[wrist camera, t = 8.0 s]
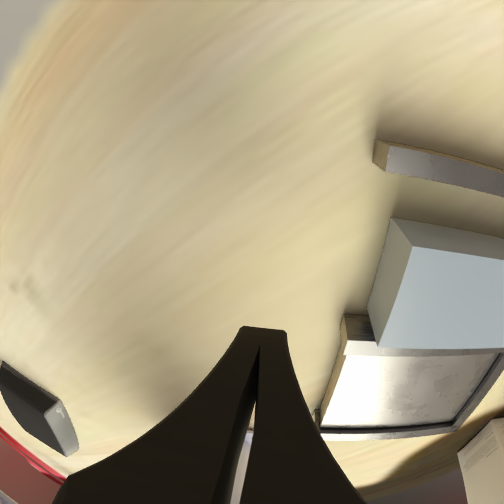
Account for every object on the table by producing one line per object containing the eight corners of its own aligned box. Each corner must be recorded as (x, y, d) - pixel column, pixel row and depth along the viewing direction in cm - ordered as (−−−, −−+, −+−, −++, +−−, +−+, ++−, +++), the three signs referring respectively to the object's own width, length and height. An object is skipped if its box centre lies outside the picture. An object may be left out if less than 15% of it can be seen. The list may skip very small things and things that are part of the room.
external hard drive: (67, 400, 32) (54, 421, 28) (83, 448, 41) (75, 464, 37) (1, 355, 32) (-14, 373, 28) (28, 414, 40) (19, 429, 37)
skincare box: (484, 447, 26) (503, 534, 13) (453, 453, 27) (469, 549, 13) (521, 412, 23) (551, 506, 9) (491, 417, 23) (520, 525, 9)
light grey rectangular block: (483, 312, 18) (505, 347, 14) (366, 304, 19) (377, 347, 15) (512, 239, 15) (545, 267, 11) (389, 215, 16) (412, 246, 12)
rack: (450, 412, 23) (456, 433, 20) (312, 416, 24) (311, 442, 22) (554, 189, 12) (579, 203, 10) (375, 139, 14) (391, 146, 11)
